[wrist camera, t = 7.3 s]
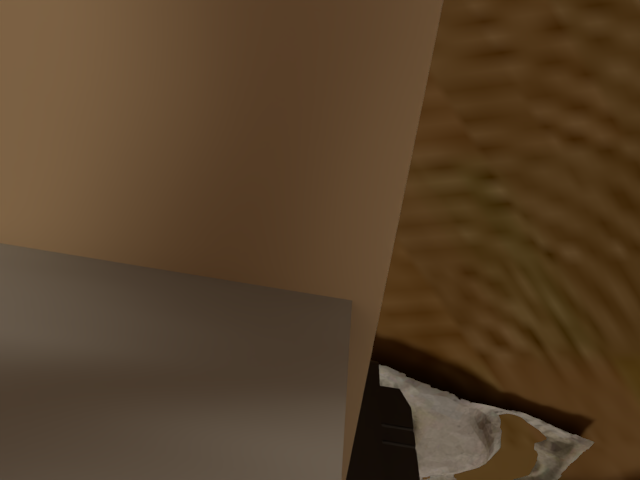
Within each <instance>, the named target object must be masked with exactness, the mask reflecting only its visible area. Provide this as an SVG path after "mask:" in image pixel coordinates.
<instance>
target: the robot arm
mask: <svg viewBox="0 0 640 480" xmlns="http://www.w3.org/2000/svg"><path fill="white" fill-rule="evenodd" d="M413 429H414V427H413V418H412V410H411V406H410V405H409V403H408V402H407V400H406V398H405V397H404V395H403V393H402V392H401V390H400V389H398V388H392V387H385V386H380V375H379V362H378V361H372V360H370V363H369V368H368V373H367V378H366V383H365V388H364V393H363V398H362V403H361V408H360V413H359V418H358V422H357V427H356V432H355V437H354V442H353V447H352V452H351V457H350V462H349V467H348V472H347V476H346V480H420V476H419V468H418V460H417V451H416V450H415V446H416V443H415V435H414V432H413Z"/></svg>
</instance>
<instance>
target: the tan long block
mask: <svg viewBox="0 0 640 480" xmlns="http://www.w3.org/2000/svg"><path fill="white" fill-rule="evenodd" d="M442 5H443V0H0V243H2V244H8V245H14V246H20V247H26V248H33V249H39V250H45V251H51V252H57V253H63V254H69V255H76V256H82V257H88V258H94V259H100V260H106V261H113V262H119V263H125V264H131V265H137V266H143V267H149V268H156V269H162V270H168V271H174V272H180V273H186V274H192V275H199V276H205V277H211V278H217V279H223V280H229V281H235V282H242V283H248V284H254V285H260V286H266V287H272V288H279V289H285V290H291V291H297V292H303V293H309V294H315V295H322V296H328V297H334V298H340V299H346V300H352V311H351V328H350V344H349V361H348V377H347V394H346V411H345V427H344V444H343V460H342V477H341V480H346V476H347V472H348V467H349V462H350V457H351V452H352V447H353V442H354V437H355V432H356V427H357V422H358V418H359V413H360V408H361V403H362V398H363V393H364V388H365V383H366V378H367V373H368V368H369V363H370V359H371V354H372V349H373V344H374V339H375V334H376V329H377V324H378V319H379V314H380V309H381V305H382V300H383V295H384V290H385V285H386V280H387V275H388V270H389V265H390V260H391V255H392V251H393V246H394V241H395V236H396V231H397V226H398V221H399V216H400V211H401V206H402V201H403V197H404V192H405V187H406V182H407V177H408V172H409V167H410V162H411V157H412V152H413V147H414V143H415V138H416V133H417V128H418V123H419V118H420V113H421V108H422V103H423V98H424V93H425V88H426V84H427V79H428V74H429V69H430V64H431V59H432V54H433V49H434V44H435V39H436V34H437V30H438V25H439V20H440V15H441V10H442Z"/></svg>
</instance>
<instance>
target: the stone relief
mask: <svg viewBox="0 0 640 480" xmlns="http://www.w3.org/2000/svg"><path fill="white" fill-rule="evenodd" d="M379 375H380V386H385V387H392V388H398V389H400V390H401V392H402V393H403V395H404V397H405V398H406V400H407V402H408V403H409V405H410V406H411V410H412V418H413V427H414V429H413V432H414V435H415V443H416V446H415V450H416V451H417V460H418V468H419V476H420V480H424V479H422V478H423V477H428V476H430V479H426V480H456V479H455V478H454V476H453V475H454V474H456V473H461V472H464V471H467V470H471V469H475V468H479V467H480V466H482V465H484V464H485V463H486V462H487V461H488V460H490V458H491V457H492V456H493V455H494V454H495V453H496V452H497V451H498V450H499V449H500V447H501V446H500V443H501V432H502V430H501V429H500V424H501V421H500V418H499V415H500V414H507V413H509V414H514V415H517V416H519V417H522V418H523V419H524V420H525V421H526V422H527V423H529V424H531V425H532V426H534V427H535V428H537V429H538V430H540V431H541V432H542V433H543V434H544V435H545V436H546V437H547V440H544V441H542V442H539V443H535V446H534V450H536V451H537V453H538V457H537V462H536V464H535V466H534V468H533V469H532V471H531V473H530V474H529V476H525V477H522V478H518V479H513V480H558V479H559V478H560V477H561V476H562V475H560V474H561V473H562V472H563V471H564V470H565V469H566V468H567V466H569V465H570V463H572V462H573V461H575V460H576V459H577V458H578V457H579V456H580V455H581V454H582V452H583V451H586V449H589V448H590V447H591V446H592V444H593V443H594V442H593V441H590V440H588V439H584V438H582V437H580V436H578V435H576V434H575V435H573V434H570V433H568V432H566V431H563V430H561V429H559V428H556V427H554V426H552V425H550V424H547V423H545V422H544V421H542V420H540V419H537V418H534V417H532V416H530V415H528V414H525V413H522V412H518V411H514V410H512V411H509V410H505V409H500V408H497V407H494V406H489V405H485V404H479V403H473V402H472V403H470V401H467V400H464V399H461V400H459V399H458V398H457V397H455V394H449V392H447V391H444V392H443V391H440V390H438V389H437V388H431V386H430V385H428V384H424V383H421V382H419V381H416V380H415V379H412V378H409V377H405V376H406V374H404V373H399V371H396V370H394V369H392V368H389V367H387V366H381V365H380V364H379Z"/></svg>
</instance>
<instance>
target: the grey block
mask: <svg viewBox="0 0 640 480" xmlns="http://www.w3.org/2000/svg"><path fill="white" fill-rule="evenodd" d="M351 311H352V300H346V299H340V298H334V297H328V296H322V295H315V294H309V293H303V292H297V291H291V290H285V289H279V288H272V287H266V286H260V285H254V284H248V283H242V282H235V281H229V280H223V279H217V278H211V277H205V276H199V275H192V274H186V273H180V272H174V271H168V270H162V269H156V268H149V267H143V266H137V265H131V264H125V263H119V262H113V261H106V260H100V259H94V258H88V257H82V256H76V255H69V254H63V253H57V252H51V251H45V250H39V249H33V248H26V247H20V246H14V245H8V244H2V243H0V480H341V477H342V460H343V444H344V427H345V411H346V394H347V377H348V361H349V344H350V328H351Z"/></svg>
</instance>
